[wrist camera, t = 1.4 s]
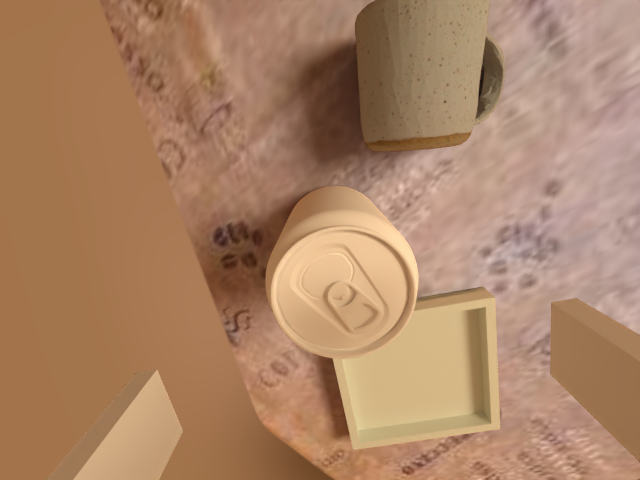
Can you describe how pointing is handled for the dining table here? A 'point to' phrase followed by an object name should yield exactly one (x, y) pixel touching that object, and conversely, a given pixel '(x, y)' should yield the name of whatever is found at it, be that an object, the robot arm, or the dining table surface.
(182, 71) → the dining table surface
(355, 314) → the beverage can
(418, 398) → the holder tray
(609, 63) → the dining table surface
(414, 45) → the ceramic mug
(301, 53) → the dining table surface
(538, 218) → the dining table surface
